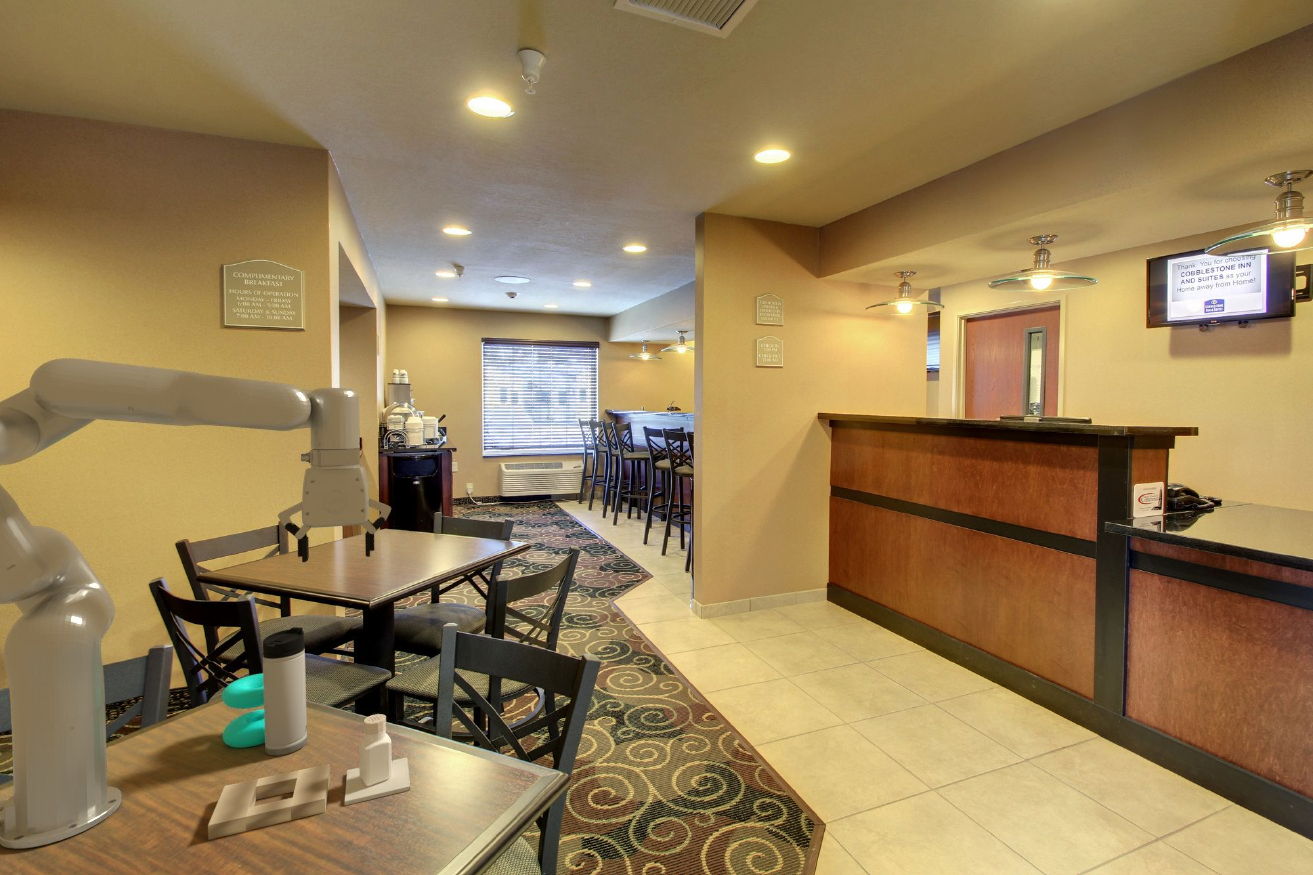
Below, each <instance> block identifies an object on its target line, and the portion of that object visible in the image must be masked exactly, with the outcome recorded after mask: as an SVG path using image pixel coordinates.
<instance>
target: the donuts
mask: <svg viewBox="0 0 1313 875" xmlns="http://www.w3.org/2000/svg"><path fill="white" fill-rule="evenodd" d="M221 700H222V702H223V704H224V705H225V706H227V707H229V708H232V709H236V710H237V709H239V710H248V709H254V708H255V709H256V708H259V707H262V706H263V707H264V684H263V672H262V673H256V674H251V675H249V676H245V677H242V678H239V679H236V680H234V681H233V682H231V683H230V684H228V685H227V686H226V687H225V688H224V689H223V691H222V693H221ZM222 741H223V742H224V743H225V744H226V745H227V746H229V747H232V748H252V747H256V746H259V745H263V744H265V721H264V708H262V709H257V710H252V711H249V712H246V713H244V714H241V715H240V716H238V717H236V718H234V719H233V720H232V721H230V722H229V723H228V724H227V725H226V727H225V728H224V730H223V731H222Z"/></svg>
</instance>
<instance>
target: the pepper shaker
mask: <svg viewBox="0 0 1313 875" xmlns="http://www.w3.org/2000/svg"><path fill="white" fill-rule="evenodd" d="M386 730H387V715H385V714H382V713H381V714H380V713H377V714H372V715H371V714H370V716H367V717H366V718H365V719H364V720H363V734H364V736H363V738H361V739H360V740H359V742H358V750H359V752H358V753H359V754H358V755H359V756H358V757H359V761H358V762H359V767H358V768H360V777H361V779H362V780H363V782H364V783H365V785H366V786H370V785H373V784H376V783H379V782H381V781H384V780H387V779H389V778H391V775H392V739H391V737H390V736H389V735H388V733H387V732H386Z"/></svg>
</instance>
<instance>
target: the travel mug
mask: <svg viewBox="0 0 1313 875" xmlns="http://www.w3.org/2000/svg"><path fill="white" fill-rule="evenodd" d="M305 650H306V649H305V631H304V630H303V627H297V626H294V627H291V628H289V629H285V630H280V631H278V632H277V631H276V632H274V633H272V634H269V635H268V636H266V637H265V638H264V639H263V640H262V651H263V652H262V673H263V684H264V705H263V709H264V721H265V743H264V749H265V750H264V751H265V753H266V754H267V755H270V756H277V757H278V756H285V755H288V754H292V753H294V752H297V751H298V750H300V749H301V748H303V747H305V745H306V744H307V742H308V730H307V729H308V728H307V727H308V725H307V724H308V723H307V722H308V721H307V720H308V719H307V718H308V717H307V691H306V690H307V688H306V687H307V686H306V684H307V682H306V681H307V680H306V653H305Z"/></svg>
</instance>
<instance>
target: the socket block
mask: <svg viewBox="0 0 1313 875" xmlns="http://www.w3.org/2000/svg"><path fill="white" fill-rule="evenodd" d="M330 780H331V764H330V763H327V764H323V765H322V764H321V765H318V766H312V767H307V768H303V769H298V770H294V771H288V772H285V773H279V774H274V775H269V776H266V777H265V776H264V777H261V778H256V779H250V780H246V781H242V782H237V783H232V784H226V785H224V786H223V789H222V791H221V794H220V796H219V799H218V801H217V803H216V805H215V808H214V810H213V812H212V815H211V818H210V820H209V822H208V823H207V824H208V825H207V836H208V837H207V839H208V841H210V840H214V839H218V838H221V837H222V838H223V837H226V836H231V835H235V834H239V833H244V832H247V831H251V830H255V829H261V828H265V827H268V826H273V825H277V824H281V823H286V822H289V821H294V820H298V819H302V818H306V817H310V816H315V815H319V814H323V813H326V809H327V808H326V807H327V802H328V796H329V794H328V793H329V787H330ZM288 793H293V795H292V797H288V798H284V799H281V800H280V799H279V800H276V801H271V802H268V803H262V804H257V805H255V804H256V801H257V800H262V799H266V798H271V797H276V796H280V795H284V794H288Z"/></svg>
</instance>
